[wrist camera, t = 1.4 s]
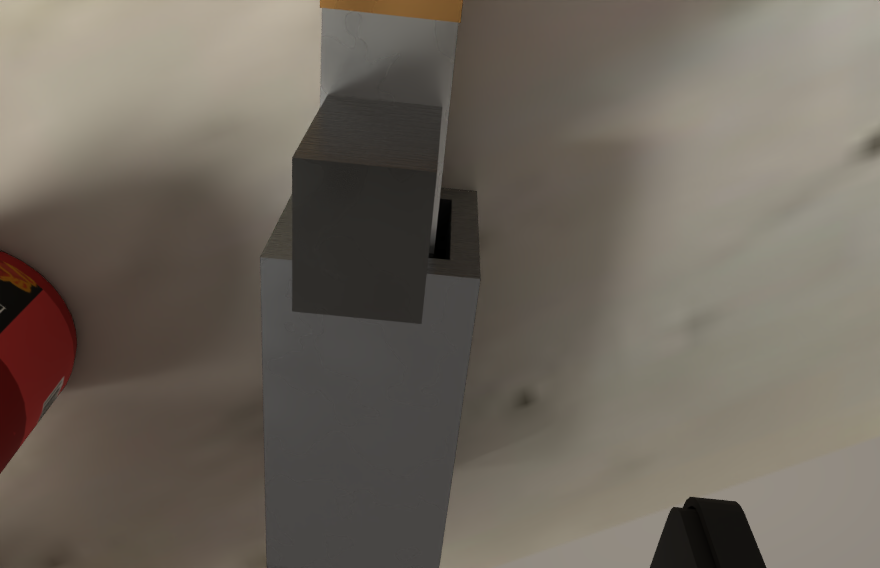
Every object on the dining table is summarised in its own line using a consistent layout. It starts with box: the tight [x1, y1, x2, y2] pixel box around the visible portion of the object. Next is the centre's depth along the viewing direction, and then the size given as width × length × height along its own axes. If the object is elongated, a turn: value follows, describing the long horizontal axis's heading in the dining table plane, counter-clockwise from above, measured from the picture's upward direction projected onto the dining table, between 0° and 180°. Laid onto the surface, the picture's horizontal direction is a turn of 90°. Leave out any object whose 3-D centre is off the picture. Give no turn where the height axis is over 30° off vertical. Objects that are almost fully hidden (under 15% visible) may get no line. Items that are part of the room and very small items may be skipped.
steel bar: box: [292, 0, 463, 324], centre depth 24 cm, size 20×4×9 cm, turn 174°
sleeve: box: [260, 188, 480, 568], centre depth 28 cm, size 14×6×7 cm, turn 174°
